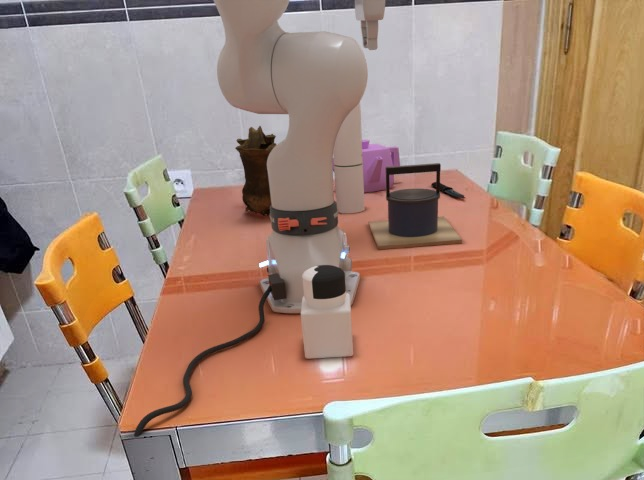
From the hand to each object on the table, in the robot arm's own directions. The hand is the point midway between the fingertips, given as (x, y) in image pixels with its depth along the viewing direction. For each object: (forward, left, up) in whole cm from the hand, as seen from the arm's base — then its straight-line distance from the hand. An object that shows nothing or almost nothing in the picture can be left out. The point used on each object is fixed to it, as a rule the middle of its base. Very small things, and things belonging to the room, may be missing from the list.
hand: (369, 48), depth 128 cm
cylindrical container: (+22, +4, -35) cm, 42 cm away
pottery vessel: (+26, +26, -35) cm, 51 cm away
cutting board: (-4, -8, -35) cm, 36 cm away
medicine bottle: (-62, +14, -35) cm, 73 cm away
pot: (-4, -8, -34) cm, 35 cm away
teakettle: (+46, -2, -35) cm, 58 cm away
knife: (+32, -24, -35) cm, 53 cm away
